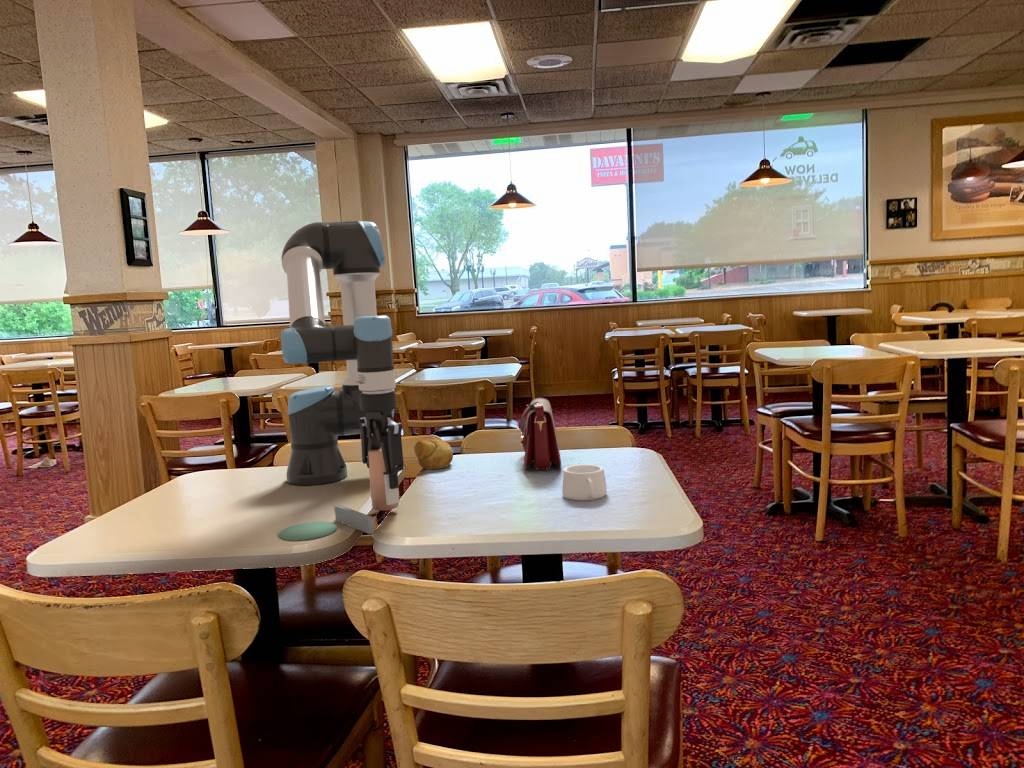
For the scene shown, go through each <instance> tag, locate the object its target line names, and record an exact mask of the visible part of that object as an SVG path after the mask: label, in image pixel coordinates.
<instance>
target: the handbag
mask: <svg viewBox="0 0 1024 768" xmlns="http://www.w3.org/2000/svg"><path fill="white" fill-rule="evenodd" d="M525 416H526V421H525ZM519 421H520V422H519V428H520V433H521V436H520V439H519V440H520V446H521V447H523V452H524V462H523V468H524V470H525V471H528V470H527V469H529V467H530V466H531V464H532V463H533V464H534V465H533V466H534V468H535V469H536V470H537V471H544V470H549V469H550V468H551V466H552V462H553V464H555V466H557V467H558V469H559V470H561V468H562V467H561V466H562V460H561V453H560V446H559V445H560V444H559V440H558V434H557V428H556V423H555V422H556V421H555V417H554V414H553V408H552V405H551V401H550V400H548V398H546V397H545V398H544V397H536V398H533V399H532V400H531V401H530V402H529V405H528V406H527V407H525V409H524V411H523V413H522V415H521V418H520V420H519ZM525 422H526V423H525Z"/></svg>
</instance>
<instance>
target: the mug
mask: <svg viewBox="0 0 1024 768" xmlns="http://www.w3.org/2000/svg"><path fill="white" fill-rule="evenodd" d="M562 472H563V475H562V486H561V489H562V490H561V491H562V492H561V493H562V496H563V497H564V498H566V499H567V500H570V501H571V500H572V501H581V502H582V501H592V500H593V501H594V500H599V499H601V498H604V497H605V496H606V495H607V493H608V491H607V482H606V475H605V470H604V468H603V466H600V465H597V464H588V463H587V464H575V465H570V466H567V467H565V468H563V471H562Z"/></svg>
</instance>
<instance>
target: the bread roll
mask: <svg viewBox="0 0 1024 768" xmlns="http://www.w3.org/2000/svg"><path fill="white" fill-rule="evenodd" d="M413 449H414V453H415V456H416V458H417V460H418V463H419V466H420V467H421V468H422V469H425V470H435V469H437V470H438V469H443V468H446V467H448V466H450V465H451V463H452V461H453V459H454V455H453V449H452V447H451V445H450V444H449V443H448V442H446V441H445V440H442V439H439V438H433V439H428V440H422V439H420V440H417V442H416V443H415V444H414V446H413Z"/></svg>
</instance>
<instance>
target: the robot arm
mask: <svg viewBox="0 0 1024 768" xmlns="http://www.w3.org/2000/svg"><path fill="white" fill-rule="evenodd" d="M281 252H282V253H281V267H282V269H283V271H284V273H285V274H286V280H287V281H286V282H287V294H288V295H287V296H288V297H287V300H288V312H289V313H288V315H289V317H288V318H289V328H284V329H282V330H281V332H280V341H281V355H282V360H283V362H284V363H286V364H290V365H291V364H292V365H293V364H302V365H306V364H315V363H316V364H317V363H325V362H338V361H339V362H341V361H343V362H344V361H345V362H346V373H347V374H346V377H345V379H344V380H343V381H342V382H341V390H340V389H339V390H335V388H334V386H333V385H324V386H323V385H321V386H316V387H311V388H306V389H302V390H299V391H295V392H294V393H293V392H292V393H291V394H290V395H289V397H288V398H287V413H286V414H287V415H288V421H289V435H290V437H289V438H290V447H291V448H290V449H291V452H290V456H289V461H288V465H287V470H286V476H285V477H286V482H287V483H288V484H290V485H295V486H296V485H297V486H315V485H323V484H324V485H325V484H329V483H333V482H337V481H341V480H343V479H345V478H347V477H348V466H347V464H346V462H345V460H344V457H343V455H342V452H341V450H340V447H339V440H338V439H339V438H338V437H341V436H351V435H360V441H361V442H360V446H361V461H362V464H363V465H366V467H367V468H368V472H369V473H368V475H369V476H370V470H369V456H368V451H369V450H374V449H379V448H381V449H382V453H383V458H384V463H385V468H386V472H383V474H384V481H385V495H386V505H391V504H395V503H398V502H399V503H400V491H399V476H398V474H399V472H401V471H404V470H405V463H404V452H403V451H404V450H403V443H402V442H403V441H402V440H403V439H402V429H403V426H402V423H401V422H395V421H394V416H395V409H397V406H398V403H397V393H396V391H395V389H396V388H397V385H396V374H395V365H394V363H395V362H394V349H393V347H394V344H393V333H394V332H393V329H392V321H391V318H390V317H389V316H388V315H378V312H377V310H378V309H377V299H376V298H377V297H376V287H375V284H376V279H377V278H378V277H379V276H380V275H381V272H380V271H381V270H380V268H381V269H382V268H384V267H385V265H386V259H385V250H384V245H383V241H382V236H381V232H380V229H379V226H378V225H377V224H376V223H375V222H372V221H365V220H364V221H362V220H361V221H360V220H353V221H352V220H351V221H329V222H325V221H324V222H322V221H319V222H318V221H317V222H311V223H308V224H306V225H303V226H302V227H300V228H299V229H297V230H296V231H295V232H294V233H292V234H291V236H290V237H289V238H288V239H287V241H286V243H285V245H284V246H283V250H282V251H281ZM322 270H332V273H333V277H334V278H335V279H336V280H337V281H338V283H339V284H340V297H341V298H340V299H341V308H342V309H341V311H342V322H343V325H328V326H327V325H326V320H325V319H326V318H325V311H324V309H325V308H324V301H323V300H324V299H323V292H322V282H321V271H322ZM369 485H370V486H369V487H370V489H371V483H370V482H369ZM370 497H371V496H370ZM370 499H371V500H372V497H371V498H370Z"/></svg>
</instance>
